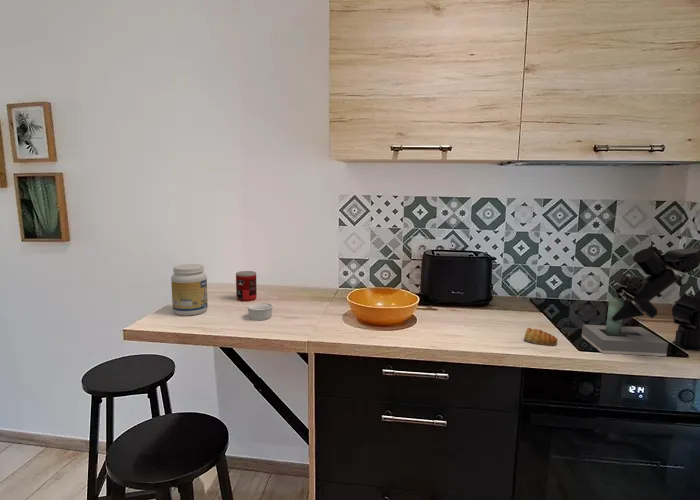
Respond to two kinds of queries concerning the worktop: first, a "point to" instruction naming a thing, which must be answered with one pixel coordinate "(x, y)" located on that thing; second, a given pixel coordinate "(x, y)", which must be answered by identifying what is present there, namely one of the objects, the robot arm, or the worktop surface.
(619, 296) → the robot arm
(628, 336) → the keyhole plate
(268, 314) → the ramekin
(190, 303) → the supplement tub
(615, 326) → the teal post
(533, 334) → the pastry
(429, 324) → the worktop surface
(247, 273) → the canned food
